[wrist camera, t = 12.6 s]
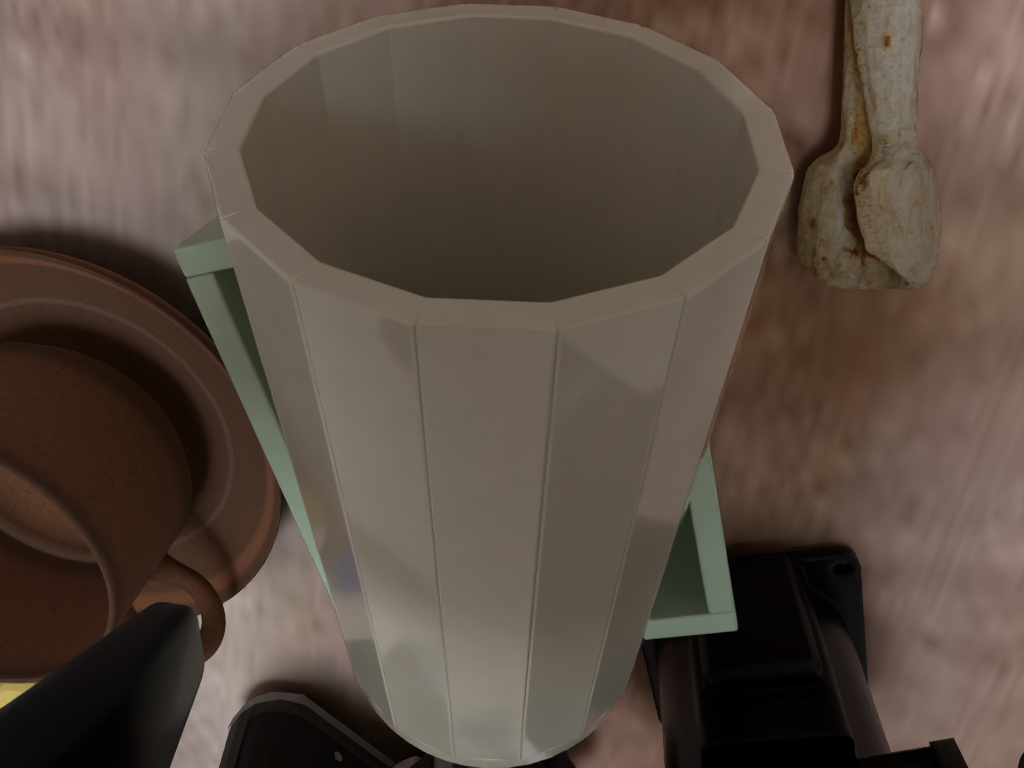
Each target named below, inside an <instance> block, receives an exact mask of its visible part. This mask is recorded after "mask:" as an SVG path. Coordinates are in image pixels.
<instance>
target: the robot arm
mask: <svg viewBox="0 0 1024 768" xmlns="http://www.w3.org/2000/svg"><path fill="white" fill-rule="evenodd" d="M727 560H728V566H729V572H730V579H731V585H732V592H733V598H734V604H735V611H736V617H737V624H738V629H737V630H736V631H729V632H719V633H708V634H698V635H688V636H678V637H668V638H658V639H648V640H644V643H643V645H642V650H643V654H644V658H645V662H646V667H647V671H648V675H649V680H650V684H651V688H652V693H653V697H654V701H655V705H656V710H657V714H658V718H659V720H660V722H661V723H662V734H663V749H664V764H665V768H968V766H967V764H966V762H965V760H964V758H963V756H962V754H961V752H960V750H959V748H958V746H957V744H956V742H955V740H954V738H950V739H944V740H937V741H931V742H929V744H930V746H928V747H922V748H916V749H910V750H904V751H897V752H891V751H890V748H889V745H888V742H887V739H886V736H885V733H884V730H883V727H882V725H881V722H880V719H879V716H878V713H877V710H876V707H875V704H874V701H873V698H872V695H871V692H870V689H869V686H868V678H867V661H866V645H865V629H864V612H863V596H862V579H861V566H860V564H859V561H858V558H857V556H856V553H855V552H854V551H853V550H852V549H850V548H848V547H845V546H835V547H827V548H818V549H809V550H801V551H792V552H784V553H775V554H767V555H758V556H749V557H741V558H732V559H727ZM841 562H845V563H846V564H845V565H843V566H840V567H837V566H835V565H836V564H838V563H841ZM203 671H204V652H203V647H202V641H201V635H200V629H199V623H198V617H197V614H196V611H195V610H194V608H193V607H192V606H189V605H184V604H175V603H167V602H157V603H154V604H152V605H150V606H148V607H147V608H145V609H144V610H142V611H141V612H139V613H138V614H136V615H135V616H133V617H132V618H131V619H129V620H128V621H126V622H125V623H123V624H122V625H120V626H119V627H118V628H116V629H115V630H113V631H112V632H110V633H109V634H107V635H106V636H105V637H103V638H102V639H100V640H99V641H97V642H96V643H94V644H93V645H92V646H90V647H89V648H87V649H86V650H84V651H83V652H81V653H80V654H78V655H77V656H76V657H74V658H73V659H71V660H70V661H68V662H67V663H65V664H64V665H63V666H61V667H60V668H58V669H57V670H55V671H54V672H52V673H51V674H50V675H48V676H47V677H45V678H44V679H42V680H41V681H39V682H38V683H36V684H35V685H34V686H32V687H31V688H29V689H28V690H26V691H25V692H23V693H22V694H21V695H19V696H18V697H16V698H15V699H13V700H12V701H10V702H9V703H8V704H6V705H5V706H3V707H2V708H0V768H170V765H171V762H172V760H173V757H174V754H175V751H176V749H177V746H178V743H179V740H180V738H181V735H182V732H183V729H184V727H185V724H186V721H187V718H188V716H189V713H190V710H191V707H192V705H193V702H194V699H195V696H196V694H197V691H198V688H199V685H200V682H201V679H202V676H203ZM1018 768H1024V753H1023V754H1022V756H1021V758H1020V761H1019V765H1018Z"/></svg>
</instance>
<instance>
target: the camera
mask: <svg viewBox="0 0 1024 768" xmlns="http://www.w3.org/2000/svg"><path fill="white" fill-rule="evenodd" d="M228 730H229V734H228V737H227V741H226V745H225V748H224V752H223V755H222V759H221V762H220V766H219V768H481V767H472V766H465V765H461V764H457V763H453V762H449V761H445V760H443V759H440V758H438V757H435V756H433V755H430V754H428V753H427V754H426V755H425V756H423V757H422V758H420V757H417V756H414V757H411V758H408V759H405V760H403V761H399V762H398V763H395V762H393V761H392V760H391V759H389V758H388V757H387V756H385V755H384V754H383V753H381V752H380V751H378V750H377V749H376V748H374V747H373V746H372V745H370V744H369V743H368V742H366V741H365V740H364V739H362V738H361V737H360V736H358V735H357V734H356V733H354V732H353V731H352V730H350V729H349V728H348V727H346V726H345V725H343V724H342V723H341V722H339V721H338V720H337V719H335V718H334V717H333V716H331V715H330V714H329V713H327V712H326V711H325V710H323V709H322V708H321V707H319V706H318V705H317V704H315V703H314V702H312V701H311V700H310V699H308V698H307V697H306V696H304V695H303V694H293V693H282V692H269V693H266V694H263V695H260V696H257V697H254V698H252V699H250V700H249V701H248V702H247V703H246V704H245V705H244V706H243V708H242V709H241V710H240V711H239V712H238V713H237V714H236V715H235V717H234V718H233V720H232V721H231V723H230V725H229V727H228ZM509 768H576V767H575V765H574V763H573V762H572V760H571V758H570V756H569V755H568V753H567V752H566V750H565V751H563V752H561V753H559V754H557V755H555V756H552V757H550V758H548V759H544V760H541V761H538V762H535V763H532V764H527V765H521V766H515V767H509Z"/></svg>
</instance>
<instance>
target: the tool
mask: <svg viewBox="0 0 1024 768" xmlns="http://www.w3.org/2000/svg"><path fill="white" fill-rule="evenodd" d="M921 51H922V0H845V17H844V49H843V62H844V67H843V93H842V110H841V130H840V140H839V142H838V144H837V146H836V147H835V148H834V149H833V150H831V151H829V152H828V153H826V154H824V155H821V156H819V157H818V158H817V159H816V160H815V161H814V162H813V163H812V164H811V165H810V166H809V168H808V169H807V172H806V175H805V179H804V183H803V189H802V194H801V198H800V202H799V206H798V210H797V214H798V217H799V221H798V234H797V254H798V259H799V260H800V261H801V262H802V264H803V266H804V267H806V268H807V269H808V270H810V271H811V272H812V273H813V274H814V275H815V276H816V277H817V278H818V279H819V280H820V281H821V282H823V283H825V284H829V285H832V286H835V287H839V288H846V289H855V290H860V289H900V290H912V289H914V288H916V287H920V286H922V285H925V284H927V282H928V280H929V278H930V276H931V274H932V272H933V269H934V268H935V262H936V255H937V253H936V251H937V249H938V247H939V242H940V237H941V225H940V205H939V199H938V193H937V179H936V175H935V171H934V169H933V167H932V165H931V161H930V160H929V159H928V157H927V156H926V155H925V154H923V153H922V152H920V151H919V148H918V146H917V144H916V124H915V114H916V109H917V101H918V70H919V62H920V60H919V59H920V55H921Z"/></svg>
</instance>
